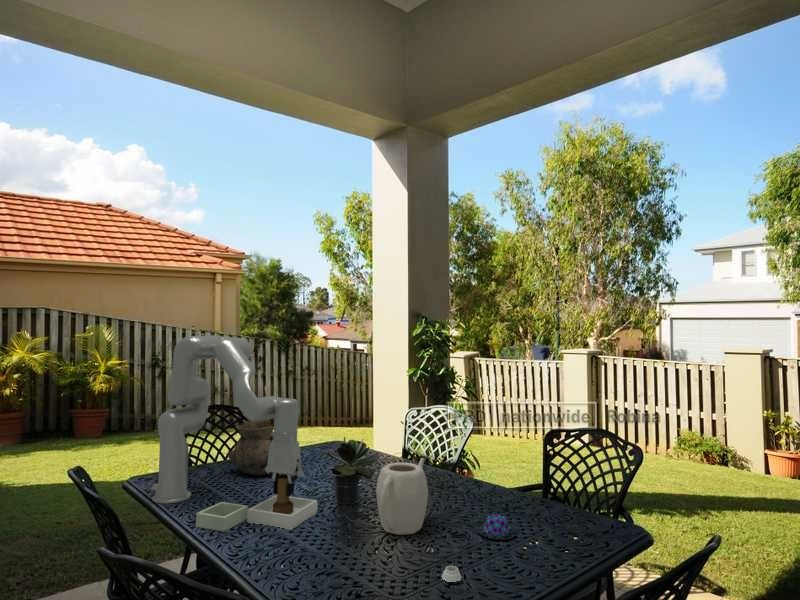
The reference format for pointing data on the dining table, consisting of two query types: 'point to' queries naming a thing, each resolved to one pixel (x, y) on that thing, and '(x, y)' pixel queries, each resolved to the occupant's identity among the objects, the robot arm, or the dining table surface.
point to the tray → (266, 516)
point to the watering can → (402, 497)
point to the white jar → (451, 574)
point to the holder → (221, 516)
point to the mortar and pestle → (282, 497)
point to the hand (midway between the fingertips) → (283, 493)
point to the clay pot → (252, 447)
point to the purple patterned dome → (496, 524)
